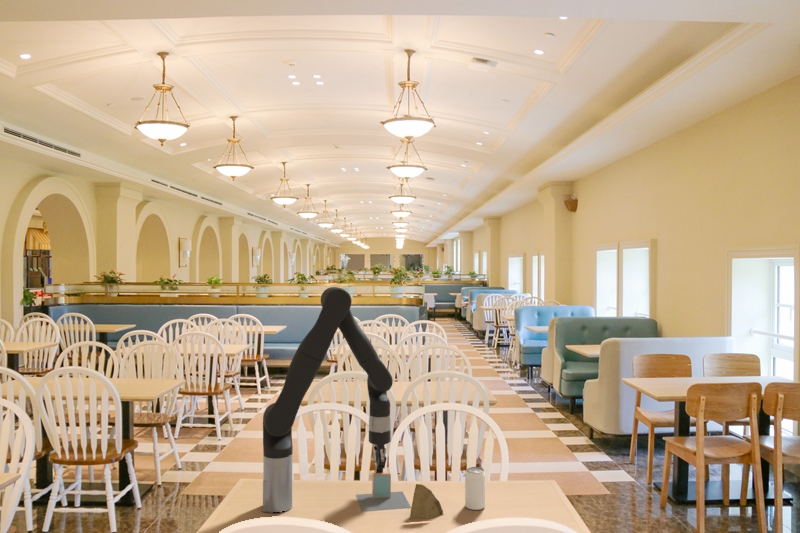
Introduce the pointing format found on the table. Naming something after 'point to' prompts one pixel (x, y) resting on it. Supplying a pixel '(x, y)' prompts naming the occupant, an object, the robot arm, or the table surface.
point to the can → (475, 488)
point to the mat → (382, 502)
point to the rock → (424, 504)
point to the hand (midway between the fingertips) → (379, 478)
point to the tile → (381, 485)
